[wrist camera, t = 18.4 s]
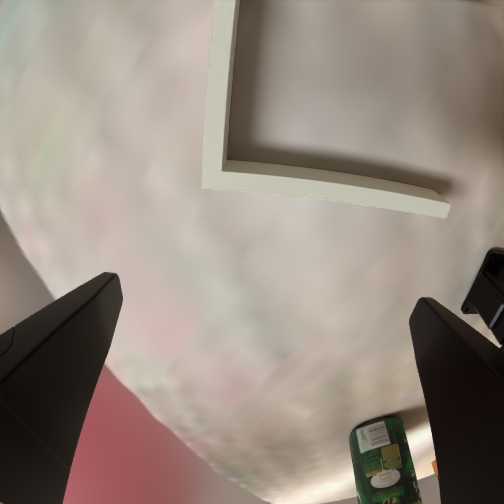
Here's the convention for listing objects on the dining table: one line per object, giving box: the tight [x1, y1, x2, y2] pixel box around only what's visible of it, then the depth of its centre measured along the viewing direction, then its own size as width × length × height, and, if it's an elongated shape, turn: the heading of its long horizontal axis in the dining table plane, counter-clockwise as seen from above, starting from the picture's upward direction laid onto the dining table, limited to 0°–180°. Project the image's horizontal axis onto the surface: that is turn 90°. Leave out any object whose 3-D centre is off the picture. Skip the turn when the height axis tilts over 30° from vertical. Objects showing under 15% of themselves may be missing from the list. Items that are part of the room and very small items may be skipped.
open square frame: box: [202, 0, 451, 219], centre depth 13 cm, size 14×16×2 cm
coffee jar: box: [349, 417, 422, 504], centre depth 27 cm, size 10×8×19 cm
